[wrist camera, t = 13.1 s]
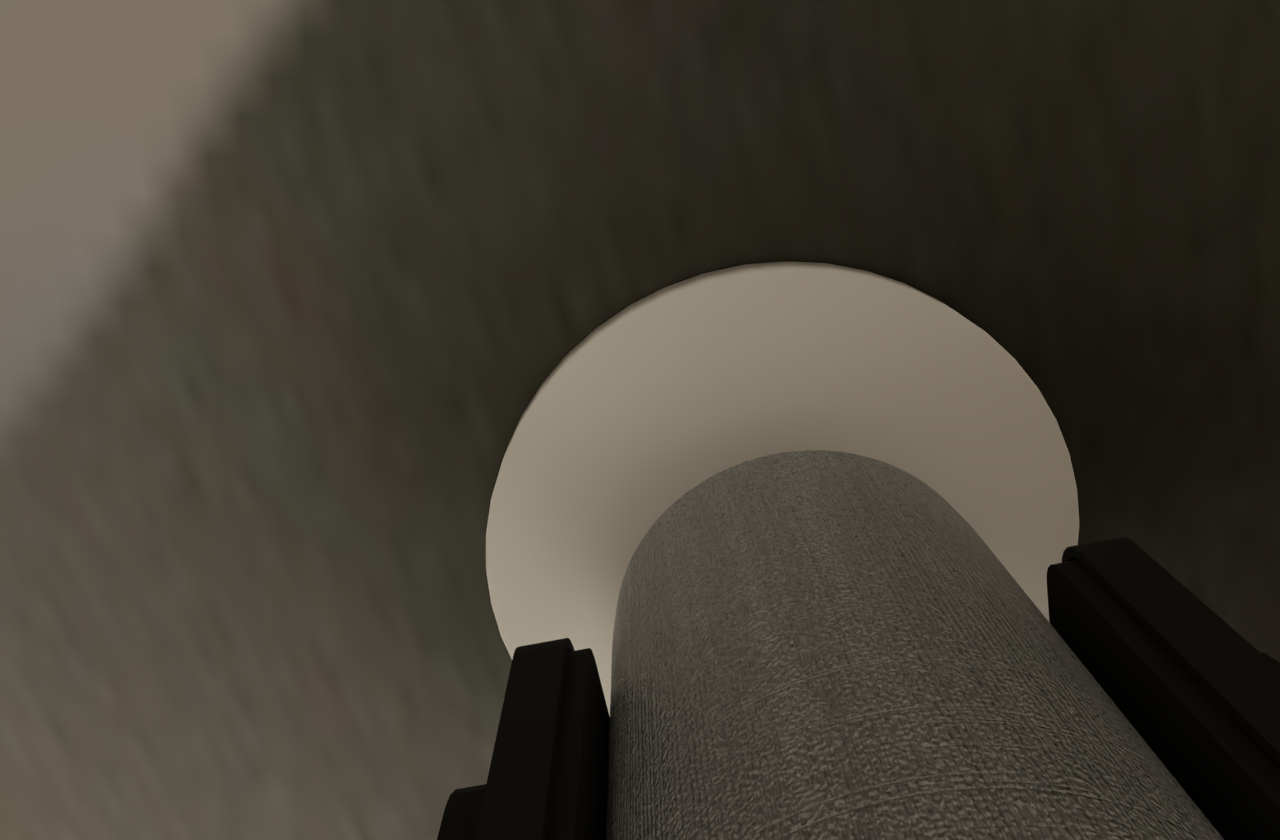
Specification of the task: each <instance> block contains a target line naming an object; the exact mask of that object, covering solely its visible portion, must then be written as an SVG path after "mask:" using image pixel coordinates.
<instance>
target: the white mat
mask: <svg viewBox="0 0 1280 840" xmlns="http://www.w3.org/2000/svg"><path fill="white" fill-rule="evenodd" d="M806 450H825V451H839V452H846V453H852V454H857V455H861V456H865V457H869V458H873V459H876V460H879V461H882V462H885V463H888V464H890V465H893V466H895V467H898V468H900V469H901V470H903V471H905V472H907V473H909V474H911V475H913V476H914V477H916V478H918V479H919V480H921V481H922V482H924V483H925V484H927V485H928V486H929V487H931V488H932V489H934V490H935V491H936V492H937V493H938V494H940V495H941V496H942V497H943V498H944V499H945V500H946V501H947V502H948V503H949V504H950V505H951V506H952V507H953V508H954V509H955V510H956V511H957V512H958V513H959V514H960V515H961V516H962V517H963V518H964V519H965V520H966V521H967V522H968V523H969V524H970V525H971V526H972V527H973V528H974V530H975V531H976V532H977V533H978V535H979V536H980V537H981V538H982V540H983V541H984V542H985V543H986V545H987V546H988V547H989V548H990V549H991V551H992V552H993V553H994V554H995V556H996V557H997V558H998V559H999V561H1000V562H1001V563H1002V564H1003V566H1004V567H1005V568H1006V569H1007V571H1008V572H1009V573H1010V574H1011V576H1012V577H1013V578H1014V579H1015V580H1016V582H1017V583H1018V584H1019V585H1020V587H1021V588H1022V589H1023V590H1024V592H1025V593H1026V594H1027V595H1028V597H1029V598H1030V599H1031V600H1032V602H1033V603H1034V604H1035V605H1036V607H1037V608H1038V609H1039V610H1040V612H1041V613H1042V614H1043V615H1044V616H1045V618H1046V619H1047V620H1048V621H1049V609H1048V594H1047V570H1048V567H1049V566H1050V565H1051V564H1057V563H1062V556H1063V552H1064V550H1065V549H1066V548H1067V547H1070V546H1075V545H1078V536H1079V509H1078V494H1077V486H1076V481H1075V477H1074V472H1073V467H1072V463H1071V458H1070V454H1069V451H1068V449H1067V446H1066V443H1065V441H1064V438H1063V436H1062V433H1061V430H1060V428H1059V425H1058V423H1057V420H1056V418H1055V417H1054V415H1053V413H1052V411H1051V410H1050V408H1049V406H1048V404H1047V403H1046V401H1045V399H1044V397H1043V396H1042V394H1041V392H1040V390H1039V389H1038V387H1037V386H1036V385H1035V383H1034V382H1033V381H1032V380H1031V378H1030V377H1029V376H1028V375H1027V373H1026V372H1025V371H1024V370H1023V368H1022V367H1021V366H1020V365H1019V363H1018V362H1017V361H1016V360H1015V358H1014V357H1012V356H1011V355H1010V354H1009V353H1008V352H1007V351H1006V350H1005V349H1004V348H1003V347H1002V346H1001V345H1000V344H998V343H997V342H996V341H995V340H994V339H993V338H992V337H991V336H990V335H989V334H988V333H987V332H985V331H984V330H982V329H981V328H979V327H978V326H977V325H975V324H974V323H972V322H971V321H969V320H968V319H966V318H965V317H963V316H962V315H960V314H959V313H958V312H956V311H955V310H953V309H952V308H950V307H948V306H947V305H945V304H944V303H942V302H941V301H939V300H937V299H935V298H933V297H931V296H929V295H927V294H925V293H923V292H921V291H919V290H917V289H915V288H913V287H911V286H909V285H907V284H905V283H903V282H899V281H896V280H893V279H890V278H887V277H884V276H881V275H878V274H875V273H872V272H869V271H866V270H861V269H855V268H850V267H845V266H839V265H834V264H828V263H814V262H794V261H781V262H768V263H756V264H744V265H740V266H735V267H730V268H726V269H721V270H716V271H712V272H707V273H703V274H700V275H697V276H695V277H692V278H689V279H686V280H683V281H681V282H678V283H675V284H672V285H669V286H666V287H664V288H662V289H660V290H658V291H656V292H654V293H652V294H650V295H648V296H646V297H645V298H643V299H641V300H639V301H637V302H635V303H633V304H631V305H629V306H627V307H626V308H625V309H623V310H622V311H620V312H619V313H617V314H616V315H614V316H613V317H611V318H610V319H608V320H607V321H606V322H604V323H603V324H601V325H600V326H598V327H597V328H596V329H594V330H593V331H592V332H591V333H590V334H589V335H588V336H587V337H586V338H584V339H583V340H582V341H581V342H580V343H579V344H578V345H577V346H576V347H574V348H573V349H572V350H571V351H570V352H569V353H568V354H567V355H566V356H565V357H564V358H563V359H562V361H561V362H560V363H559V364H558V365H557V367H556V368H555V369H554V370H553V371H552V372H551V374H550V375H549V376H548V377H547V378H546V379H545V381H544V382H543V383H542V385H541V386H540V388H539V389H538V391H537V392H536V394H535V395H534V397H533V399H532V400H531V402H530V403H529V405H528V406H527V408H526V410H525V411H524V413H523V414H522V416H521V419H520V421H519V423H518V425H517V427H516V429H515V432H514V434H513V436H512V438H511V440H510V443H509V445H508V447H507V450H506V452H505V455H504V458H503V461H502V464H501V467H500V471H499V474H498V477H497V481H496V484H495V487H494V491H493V494H492V498H491V503H490V510H489V517H488V524H487V531H486V573H487V579H488V586H489V593H490V599H491V605H492V608H493V611H494V615H495V618H496V621H497V625H498V628H499V631H500V635H501V637H502V639H503V642H504V644H505V646H506V648H507V650H508V652H509V654H510V657H511V659H512V660H513V655H514V652H515V649H516V648H517V647H519V646H525V645H530V644H536V643H541V642H547V641H552V640H558V639H563V638H569V639H570V640H571V642H572V645H573V647H574V650H575V651H576V650H581V649H587V648H590V649H591V650H592V652H593V654H594V658H595V661H596V665H597V669H598V673H599V677H600V681H601V685H602V689H603V693H604V697H605V701H606V705H607V709H608V713H609V717H610V697H611V666H612V642H613V631H614V623H615V616H616V608H617V602H618V597H619V592H620V588H621V585H622V581H623V578H624V575H625V572H626V569H627V567H628V565H629V562H630V560H631V558H632V556H633V554H634V552H635V550H636V549H637V547H638V545H639V544H640V542H641V541H642V539H643V538H644V536H645V535H646V533H647V532H648V531H649V529H650V528H651V527H652V525H653V524H654V523H655V522H656V520H657V519H658V518H659V517H660V516H661V515H662V514H663V513H664V512H665V511H666V510H667V509H668V508H669V507H670V506H671V505H672V504H673V503H674V502H676V501H677V500H678V499H679V498H680V497H682V496H683V495H684V494H686V493H687V492H688V491H689V490H691V489H692V488H694V487H695V486H697V485H698V484H700V483H701V482H703V481H705V480H706V479H708V478H710V477H712V476H713V475H715V474H717V473H719V472H721V471H724V470H726V469H728V468H730V467H733V466H735V465H738V464H741V463H743V462H746V461H750V460H753V459H756V458H759V457H763V456H768V455H772V454H777V453H784V452H791V451H806Z"/></svg>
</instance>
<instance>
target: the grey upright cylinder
mask: <svg viewBox="0 0 1280 840" xmlns="http://www.w3.org/2000/svg"><path fill="white" fill-rule="evenodd" d="M606 840H1224V839H1223V837H1222V836H1221V835H1220V834H1219V832H1218V831H1217V830H1216V829H1215V828H1214V826H1213V825H1212V824H1211V823H1210V821H1209V820H1208V819H1207V818H1206V816H1205V815H1204V814H1203V813H1202V811H1201V810H1200V809H1199V808H1198V806H1197V805H1196V804H1195V803H1194V801H1193V800H1192V799H1191V798H1190V796H1189V795H1188V794H1187V793H1186V792H1185V790H1184V789H1183V788H1182V787H1181V785H1180V784H1179V783H1178V782H1177V780H1176V779H1175V778H1174V777H1173V775H1172V774H1171V773H1170V772H1169V770H1168V769H1167V768H1166V767H1165V765H1164V764H1163V763H1162V762H1161V760H1160V759H1159V758H1158V757H1157V756H1156V754H1155V753H1154V752H1153V751H1152V749H1151V748H1150V747H1149V746H1148V744H1147V743H1146V742H1145V741H1144V739H1143V738H1142V737H1141V736H1140V734H1139V733H1138V732H1137V731H1136V729H1135V728H1134V727H1133V726H1132V724H1131V723H1130V722H1129V721H1128V720H1127V718H1126V717H1125V716H1124V715H1123V713H1122V712H1121V711H1120V710H1119V708H1118V707H1117V706H1116V705H1115V703H1114V702H1113V701H1112V700H1111V698H1110V697H1109V696H1108V695H1107V693H1106V692H1105V691H1104V690H1103V688H1102V687H1101V686H1100V685H1099V684H1098V682H1097V681H1096V680H1095V679H1094V677H1093V676H1092V675H1091V674H1090V672H1089V671H1088V670H1087V669H1086V667H1085V666H1084V665H1083V664H1082V662H1081V661H1080V660H1079V659H1078V657H1077V656H1076V655H1075V654H1074V652H1073V651H1072V650H1071V649H1070V648H1069V646H1068V645H1067V644H1066V643H1065V641H1064V640H1063V639H1062V638H1061V636H1060V635H1059V634H1058V633H1057V631H1056V630H1055V629H1054V628H1053V626H1052V625H1051V624H1050V623H1049V621H1048V620H1047V619H1046V618H1045V616H1044V615H1043V614H1042V613H1041V612H1040V610H1039V609H1038V608H1037V607H1036V605H1035V604H1034V603H1033V602H1032V600H1031V599H1030V598H1029V597H1028V595H1027V594H1026V593H1025V592H1024V590H1023V589H1022V588H1021V587H1020V585H1019V584H1018V583H1017V582H1016V580H1015V579H1014V578H1013V577H1012V576H1011V574H1010V573H1009V572H1008V571H1007V569H1006V568H1005V567H1004V566H1003V564H1002V563H1001V562H1000V561H999V559H998V558H997V557H996V556H995V554H994V553H993V552H992V551H991V549H990V548H989V547H988V546H987V545H986V543H985V542H984V541H983V540H982V538H981V537H980V536H979V535H978V533H977V532H976V531H975V530H974V528H973V527H972V526H971V525H970V524H969V523H968V522H967V521H966V520H965V519H964V518H963V517H962V516H961V515H960V514H959V513H958V512H957V511H956V510H955V509H954V508H953V507H952V506H951V505H950V504H949V503H948V502H947V501H946V500H945V499H944V498H943V497H942V496H941V495H940V494H938V493H937V492H936V491H935V490H934V489H932V488H931V487H929V486H928V485H927V484H925V483H924V482H922V481H921V480H919V479H918V478H916V477H914V476H913V475H911V474H909V473H907V472H905V471H903V470H901V469H900V468H898V467H895V466H893V465H890V464H888V463H885V462H882V461H879V460H876V459H873V458H869V457H865V456H861V455H857V454H852V453H846V452H839V451H825V450H806V451H791V452H784V453H777V454H772V455H768V456H763V457H759V458H756V459H753V460H750V461H746V462H743V463H741V464H738V465H735V466H733V467H730V468H728V469H726V470H724V471H721V472H719V473H717V474H715V475H713V476H712V477H710V478H708V479H706V480H705V481H703V482H701V483H700V484H698V485H697V486H695V487H694V488H692V489H691V490H689V491H688V492H687V493H686V494H684V495H683V496H682V497H680V498H679V499H678V500H677V501H676V502H674V503H673V504H672V505H671V506H670V507H669V508H668V509H667V510H666V511H665V512H664V513H663V514H662V515H661V516H660V517H659V518H658V519H657V520H656V522H655V523H654V524H653V525H652V527H651V528H650V529H649V531H648V532H647V533H646V535H645V536H644V538H643V539H642V541H641V542H640V544H639V545H638V547H637V549H636V550H635V552H634V554H633V556H632V558H631V560H630V562H629V565H628V567H627V569H626V572H625V575H624V578H623V581H622V585H621V588H620V592H619V597H618V602H617V608H616V616H615V623H614V631H613V642H612V666H611V697H610V727H609V757H608V788H607V818H606Z"/></svg>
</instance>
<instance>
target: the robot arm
mask: <svg viewBox="0 0 1280 840" xmlns="http://www.w3.org/2000/svg"><path fill="white" fill-rule="evenodd" d="M1047 594H1048V609H1049V623H1050V624H1051V625H1052V626H1053V628H1054V629H1055V630H1056V631H1057V633H1058V634H1059V635H1060V636H1061V638H1062V639H1063V640H1064V641H1065V643H1066V644H1067V645H1068V646H1069V648H1070V649H1071V650H1072V651H1073V652H1074V654H1075V655H1076V656H1077V657H1078V659H1079V660H1080V661H1081V662H1082V664H1083V665H1084V666H1085V667H1086V669H1087V670H1088V671H1089V672H1090V674H1091V675H1092V676H1093V677H1094V679H1095V680H1096V681H1097V682H1098V684H1099V685H1100V686H1101V687H1102V688H1103V690H1104V691H1105V692H1106V693H1107V695H1108V696H1109V697H1110V698H1111V700H1112V701H1113V702H1114V703H1115V705H1116V706H1117V707H1118V708H1119V710H1120V711H1121V712H1122V713H1123V715H1124V716H1125V717H1126V718H1127V720H1128V721H1129V722H1130V723H1131V724H1132V726H1133V727H1134V728H1135V729H1136V731H1137V732H1138V733H1139V734H1140V736H1141V737H1142V738H1143V739H1144V741H1145V742H1146V743H1147V744H1148V746H1149V747H1150V748H1151V749H1152V751H1153V752H1154V753H1155V754H1156V756H1157V757H1158V758H1159V759H1160V760H1161V762H1162V763H1163V764H1164V765H1165V767H1166V768H1167V769H1168V770H1169V772H1170V773H1171V774H1172V775H1173V777H1174V778H1175V779H1176V780H1177V782H1178V783H1179V784H1180V785H1181V787H1182V788H1183V789H1184V790H1185V792H1186V793H1187V794H1188V795H1189V796H1190V798H1191V799H1192V800H1193V801H1194V803H1195V804H1196V805H1197V806H1198V808H1199V809H1200V810H1201V811H1202V813H1203V814H1204V815H1205V816H1206V818H1207V819H1208V820H1209V821H1210V823H1211V824H1212V825H1213V826H1214V828H1215V829H1216V830H1217V831H1218V832H1219V834H1220V835H1221V836H1222V837H1223V839H1224V840H1280V663H1279V662H1277V661H1276V660H1274V659H1273V658H1271V657H1270V656H1268V655H1267V654H1265V653H1260V652H1259V651H1257V650H1256V649H1255V648H1254V647H1253V646H1252V645H1251V644H1249V643H1248V642H1247V641H1246V640H1245V639H1244V638H1243V637H1241V636H1240V635H1239V634H1238V633H1237V632H1236V631H1235V630H1233V629H1232V628H1231V627H1230V626H1229V625H1228V624H1227V623H1225V622H1224V621H1223V620H1222V619H1221V618H1220V617H1219V616H1217V615H1216V614H1215V613H1214V612H1213V611H1212V610H1211V609H1209V608H1208V607H1207V606H1206V605H1205V604H1204V603H1203V602H1201V601H1200V600H1199V599H1198V598H1197V597H1196V596H1195V595H1193V594H1192V593H1191V592H1190V591H1189V590H1188V589H1187V588H1185V587H1184V586H1183V585H1182V584H1181V583H1180V582H1179V581H1177V580H1176V579H1175V578H1174V577H1173V576H1172V575H1171V574H1169V573H1168V572H1167V571H1166V570H1165V569H1164V568H1163V567H1161V566H1160V565H1159V564H1158V563H1157V562H1156V561H1155V560H1153V559H1152V558H1151V557H1150V556H1149V555H1148V554H1147V553H1145V552H1144V551H1143V550H1142V549H1141V548H1140V547H1139V546H1137V545H1136V544H1135V543H1134V542H1133V541H1131V540H1130V539H1128V538H1126V537H1120V538H1114V539H1108V540H1103V541H1097V542H1092V543H1086V544H1081V545H1075V546H1070V547H1067V548H1066V549H1065V550H1064V552H1063V556H1062V563H1057V564H1051V565H1050V566H1049V567H1048V570H1047ZM609 727H610V717H609V713H608V709H607V705H606V701H605V697H604V693H603V689H602V685H601V681H600V677H599V673H598V669H597V665H596V661H595V658H594V654H593V652H592V650H591V649H590V648H587V649H581V650H576V651H575V650H574V647H573V645H572V642H571V640H570V639H569V638H563V639H558V640H552V641H547V642H541V643H536V644H530V645H525V646H519V647H517V648H516V649H515V652H514V655H513V660H512V665H511V670H510V674H509V679H508V684H507V689H506V694H505V698H504V703H503V708H502V713H501V718H500V722H499V727H498V732H497V737H496V742H495V746H494V751H493V756H492V761H491V766H490V770H489V775H488V780H487V784H485V785H479V786H473V787H467V788H462V789H456V790H455V791H454V792H453V793H452V794H451V795H450V797H449V799H448V802H447V805H446V807H445V811H444V815H443V819H442V823H441V826H440V830H439V834H438V838H437V840H606V818H607V788H608V757H609Z"/></svg>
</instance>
